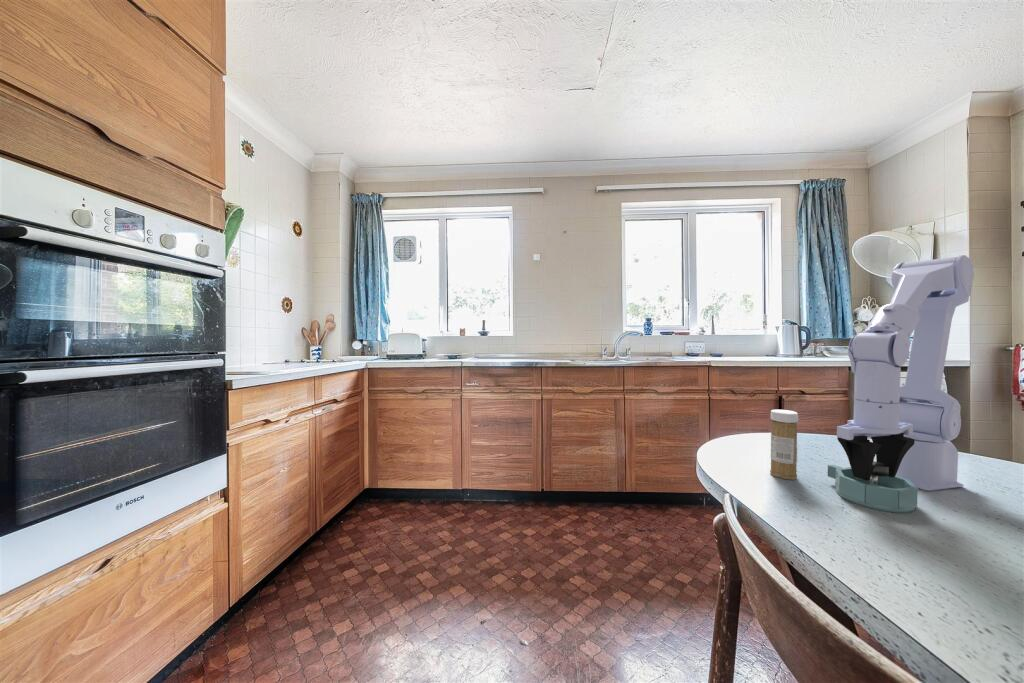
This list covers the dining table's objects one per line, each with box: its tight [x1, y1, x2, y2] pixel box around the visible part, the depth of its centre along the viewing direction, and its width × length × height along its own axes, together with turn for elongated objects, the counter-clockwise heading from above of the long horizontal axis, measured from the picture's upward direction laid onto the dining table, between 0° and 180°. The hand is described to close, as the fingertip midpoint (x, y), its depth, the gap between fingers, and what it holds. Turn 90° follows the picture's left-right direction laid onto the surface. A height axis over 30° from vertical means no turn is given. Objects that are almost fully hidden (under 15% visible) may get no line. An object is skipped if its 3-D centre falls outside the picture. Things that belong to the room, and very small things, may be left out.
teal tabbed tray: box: [827, 464, 919, 514], centre depth 67 cm, size 10×12×4 cm
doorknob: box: [862, 460, 889, 487], centre depth 66 cm, size 7×7×5 cm
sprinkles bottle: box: [769, 409, 799, 481], centre depth 76 cm, size 5×5×13 cm
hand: (873, 476), depth 66 cm, fingers open, 5 cm apart
